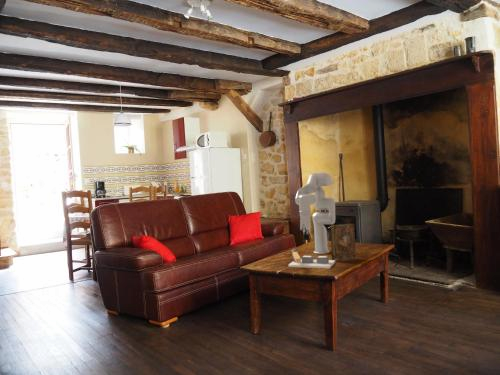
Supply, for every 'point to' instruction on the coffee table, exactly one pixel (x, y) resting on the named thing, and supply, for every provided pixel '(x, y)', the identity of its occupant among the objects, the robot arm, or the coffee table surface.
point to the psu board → (313, 262)
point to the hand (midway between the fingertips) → (306, 239)
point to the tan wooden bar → (296, 256)
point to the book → (343, 242)
